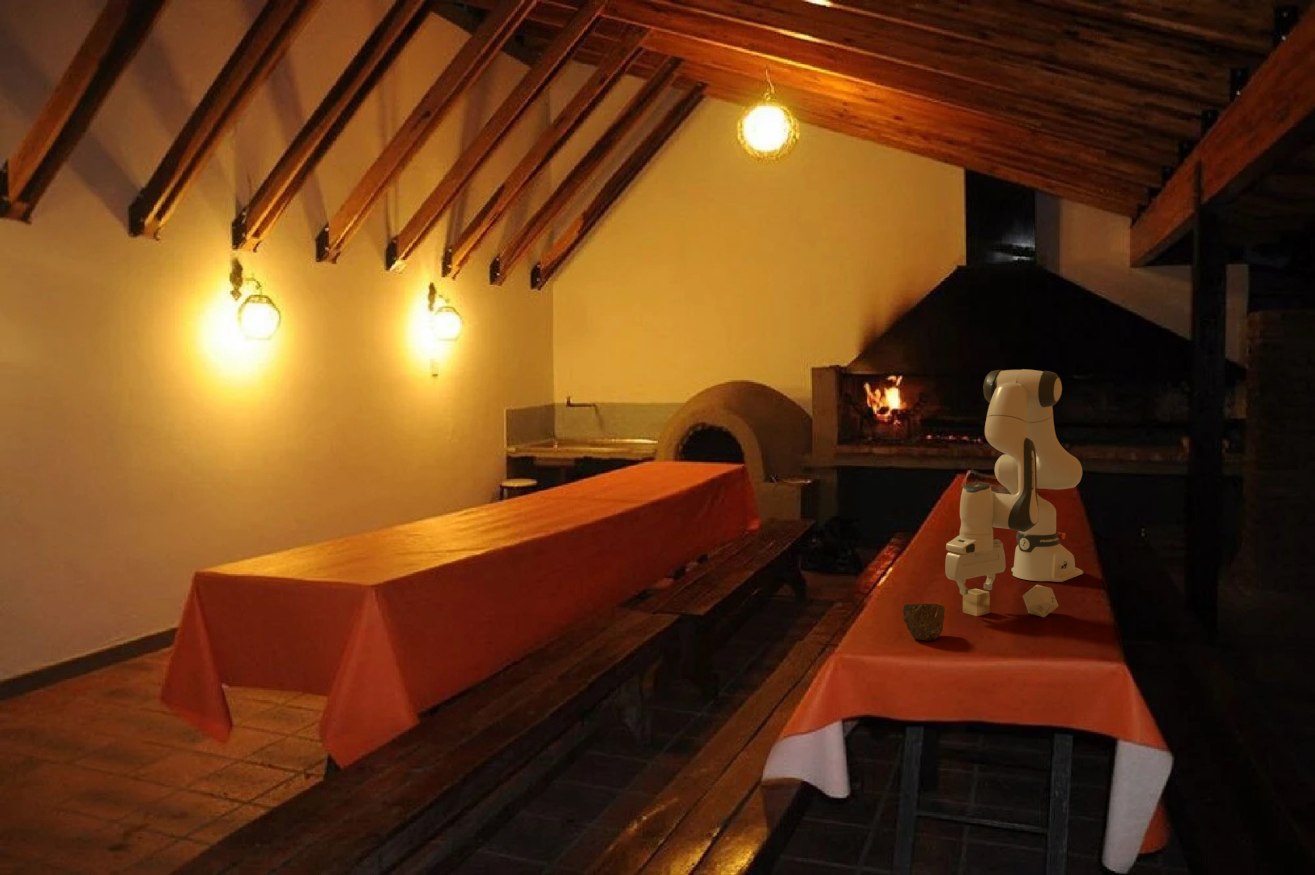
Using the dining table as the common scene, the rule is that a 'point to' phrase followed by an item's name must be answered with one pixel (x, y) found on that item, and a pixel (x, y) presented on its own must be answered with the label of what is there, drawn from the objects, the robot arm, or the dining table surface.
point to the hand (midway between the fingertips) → (976, 592)
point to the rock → (924, 620)
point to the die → (1040, 601)
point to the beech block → (976, 602)
